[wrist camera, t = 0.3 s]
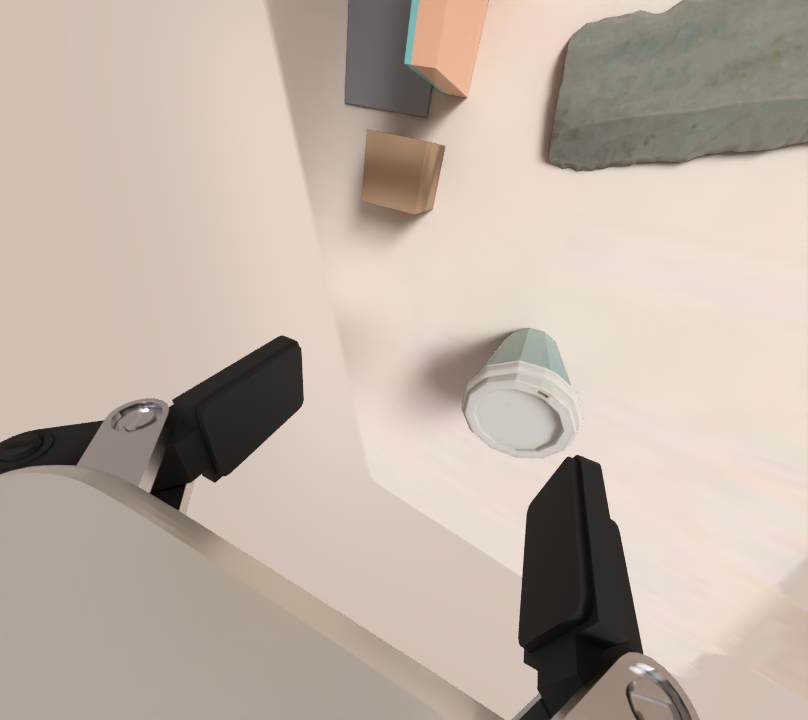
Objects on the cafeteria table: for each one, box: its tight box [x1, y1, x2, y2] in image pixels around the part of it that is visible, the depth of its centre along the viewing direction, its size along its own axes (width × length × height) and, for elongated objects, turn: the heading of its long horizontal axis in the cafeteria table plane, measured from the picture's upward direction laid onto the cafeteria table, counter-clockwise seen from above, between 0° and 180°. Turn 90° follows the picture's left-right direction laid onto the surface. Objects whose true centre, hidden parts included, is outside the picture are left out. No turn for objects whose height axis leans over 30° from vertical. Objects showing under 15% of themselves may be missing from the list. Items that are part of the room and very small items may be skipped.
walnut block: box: [362, 129, 445, 215], centre depth 31 cm, size 6×6×6 cm
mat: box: [345, 0, 432, 118], centre depth 27 cm, size 14×10×1 cm
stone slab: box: [549, 0, 808, 171], centre depth 22 cm, size 22×3×10 cm
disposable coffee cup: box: [462, 328, 584, 459], centre depth 32 cm, size 11×11×15 cm
